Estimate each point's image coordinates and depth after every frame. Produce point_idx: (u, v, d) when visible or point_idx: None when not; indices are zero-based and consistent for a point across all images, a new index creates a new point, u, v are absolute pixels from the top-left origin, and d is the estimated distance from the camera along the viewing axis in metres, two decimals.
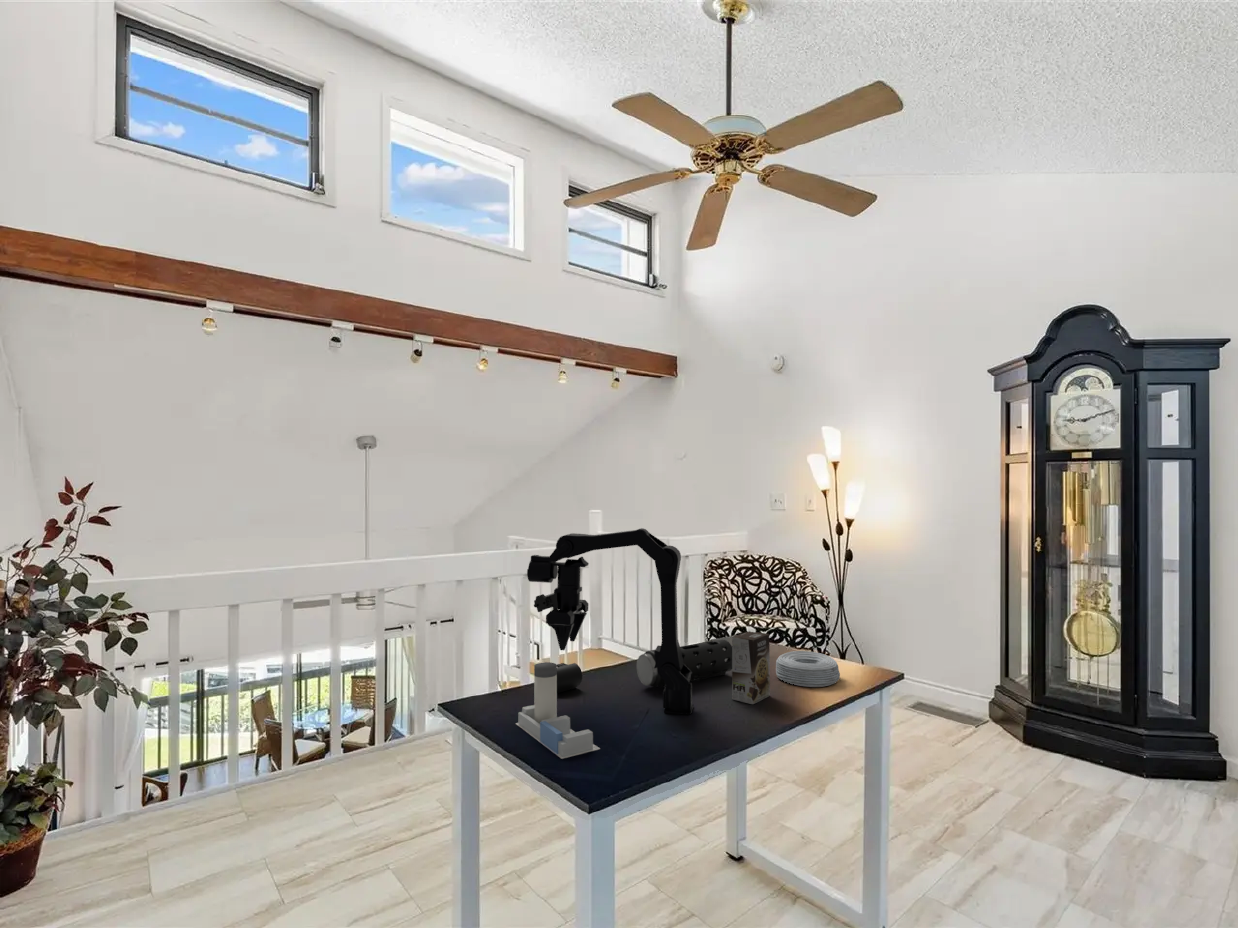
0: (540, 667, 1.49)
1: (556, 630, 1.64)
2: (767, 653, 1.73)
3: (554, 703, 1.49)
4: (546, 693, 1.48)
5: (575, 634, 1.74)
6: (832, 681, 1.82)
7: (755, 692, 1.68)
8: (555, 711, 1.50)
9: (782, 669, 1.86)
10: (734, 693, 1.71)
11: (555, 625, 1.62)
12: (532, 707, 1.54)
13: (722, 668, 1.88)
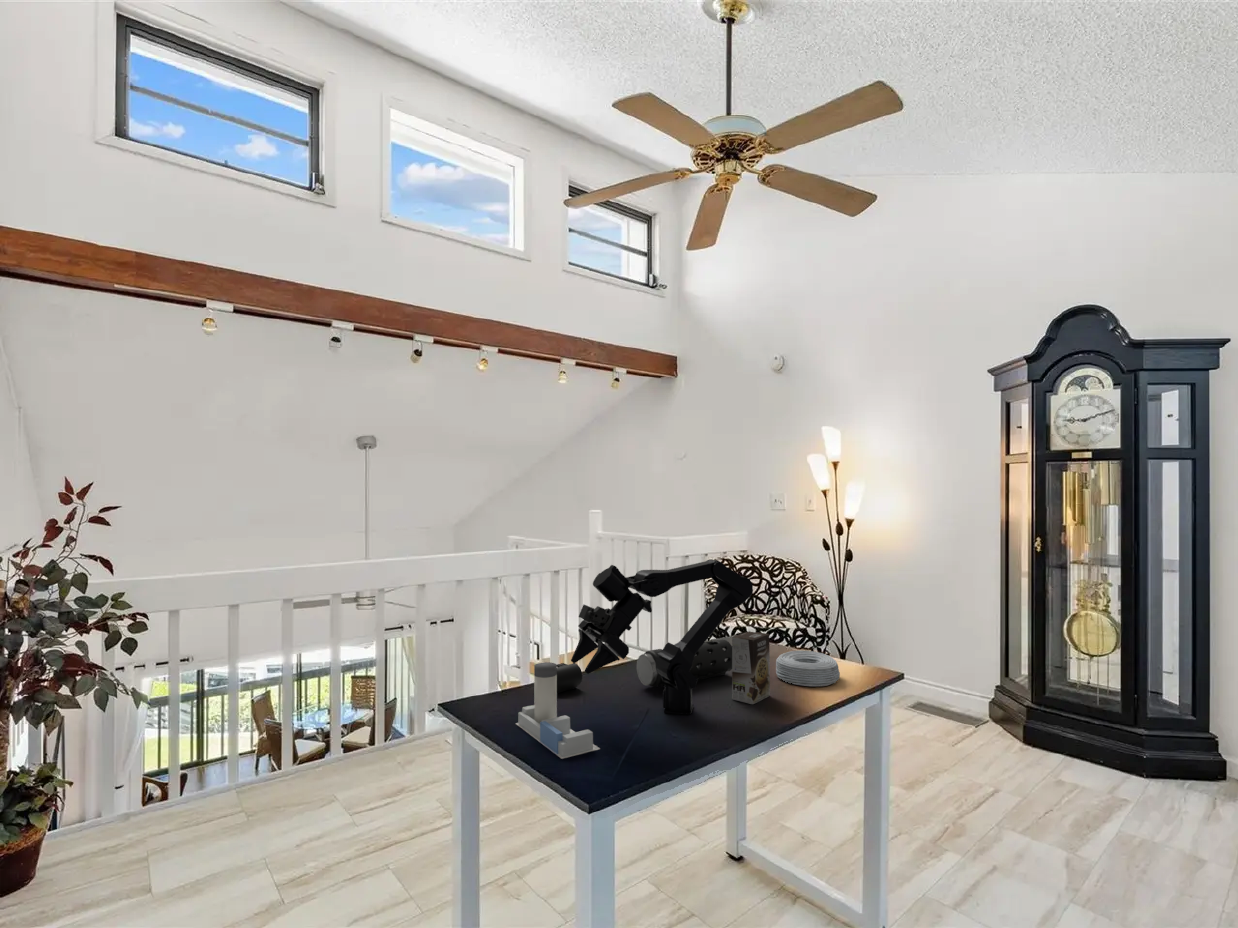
0: (540, 667, 1.49)
1: (600, 652, 1.49)
2: (767, 653, 1.73)
3: (554, 703, 1.49)
4: (546, 693, 1.48)
5: (580, 658, 1.59)
6: (832, 680, 1.82)
7: (755, 692, 1.68)
8: (555, 711, 1.50)
9: (782, 669, 1.86)
10: (734, 693, 1.71)
11: (608, 649, 1.48)
12: (532, 707, 1.54)
13: (722, 668, 1.88)
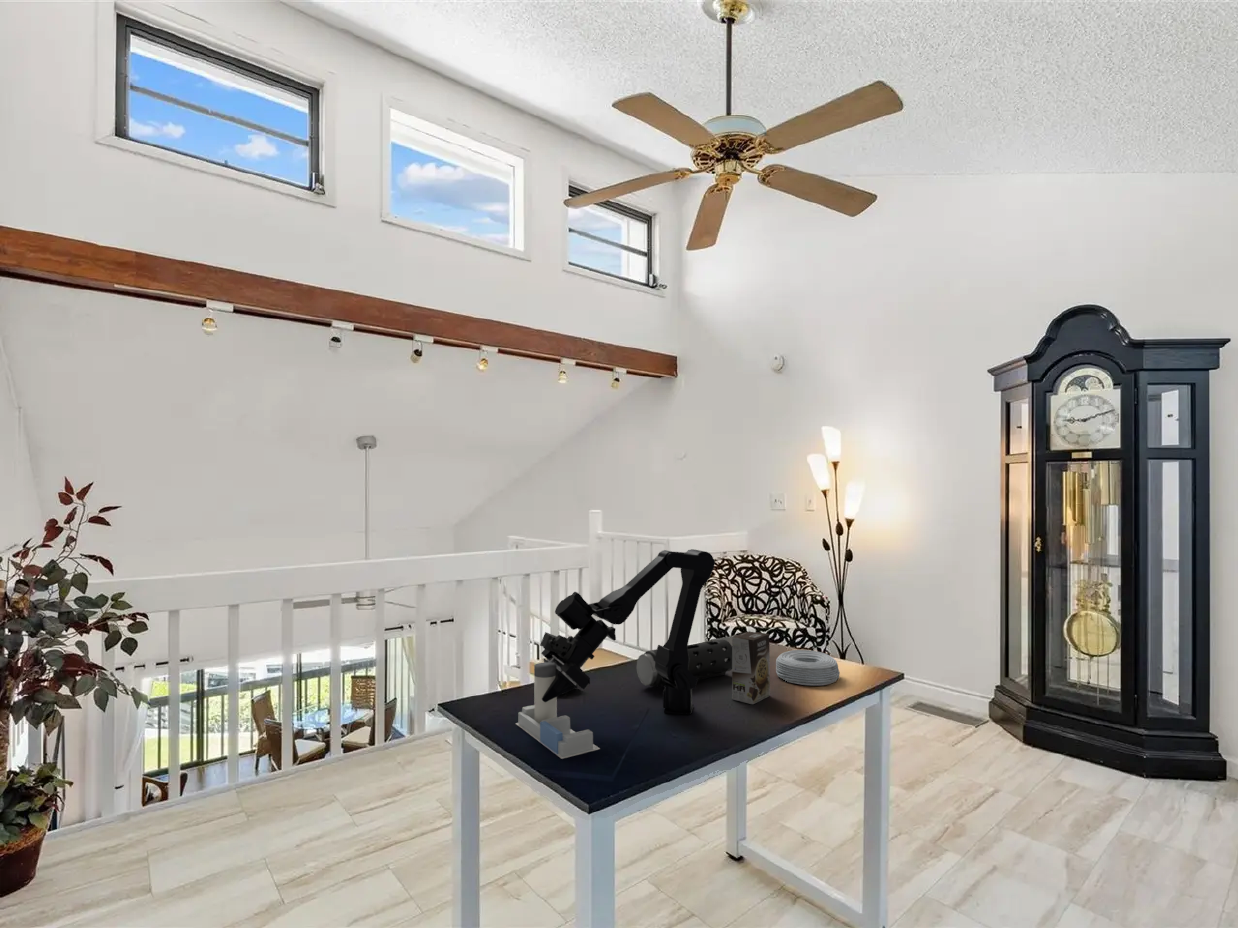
0: (540, 667, 1.49)
1: (557, 681, 1.47)
2: (767, 653, 1.73)
3: (554, 703, 1.49)
4: None
5: None
6: (832, 680, 1.83)
7: (755, 692, 1.68)
8: (555, 711, 1.50)
9: (782, 668, 1.87)
10: (734, 693, 1.71)
11: (565, 678, 1.46)
12: (532, 707, 1.54)
13: (722, 668, 1.88)
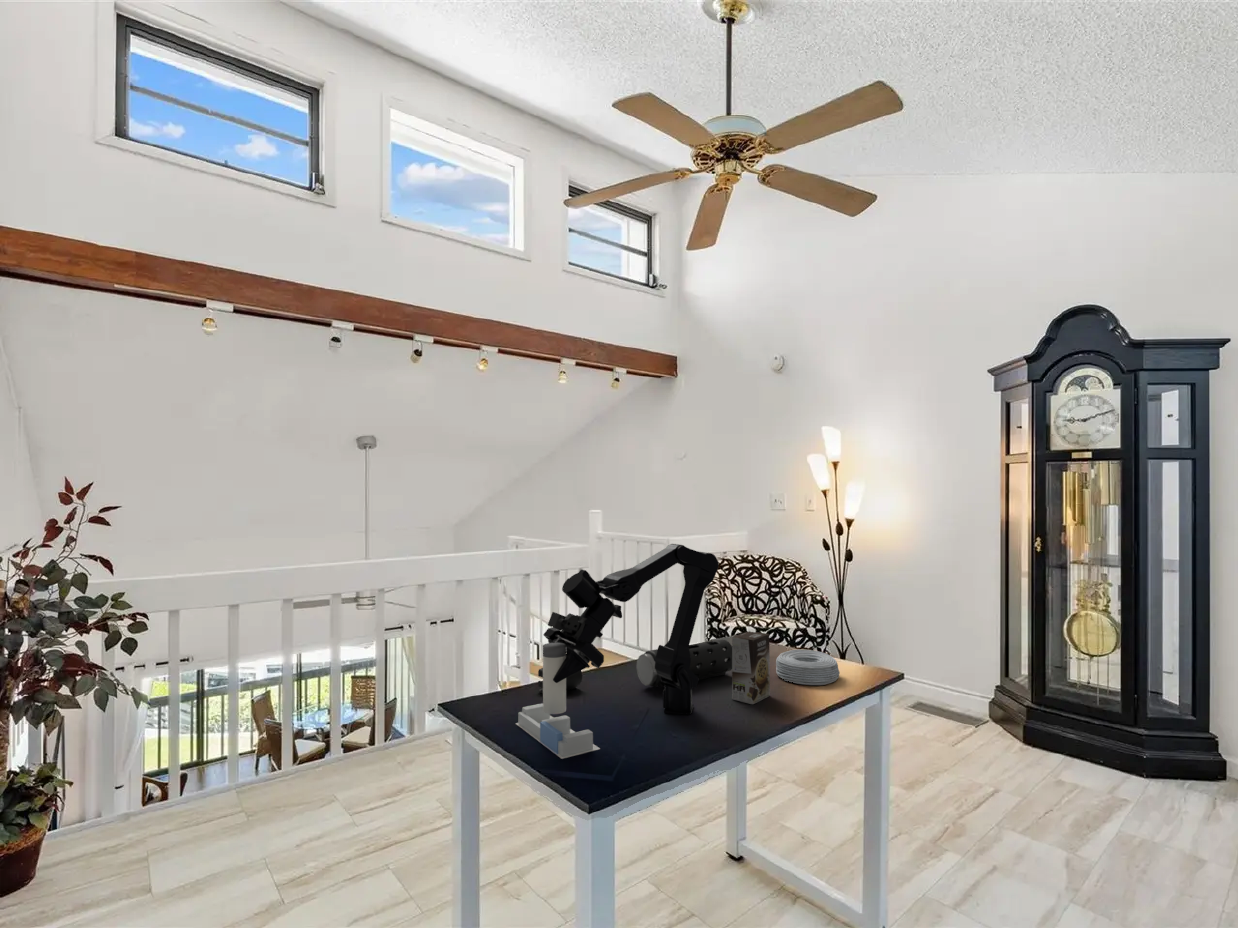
0: (550, 647, 1.45)
1: (570, 660, 1.43)
2: (767, 653, 1.73)
3: (564, 684, 1.45)
4: None
5: None
6: (832, 679, 1.83)
7: (755, 692, 1.68)
8: (565, 692, 1.45)
9: (782, 667, 1.88)
10: (734, 693, 1.71)
11: (578, 656, 1.42)
12: (532, 707, 1.54)
13: (722, 668, 1.88)
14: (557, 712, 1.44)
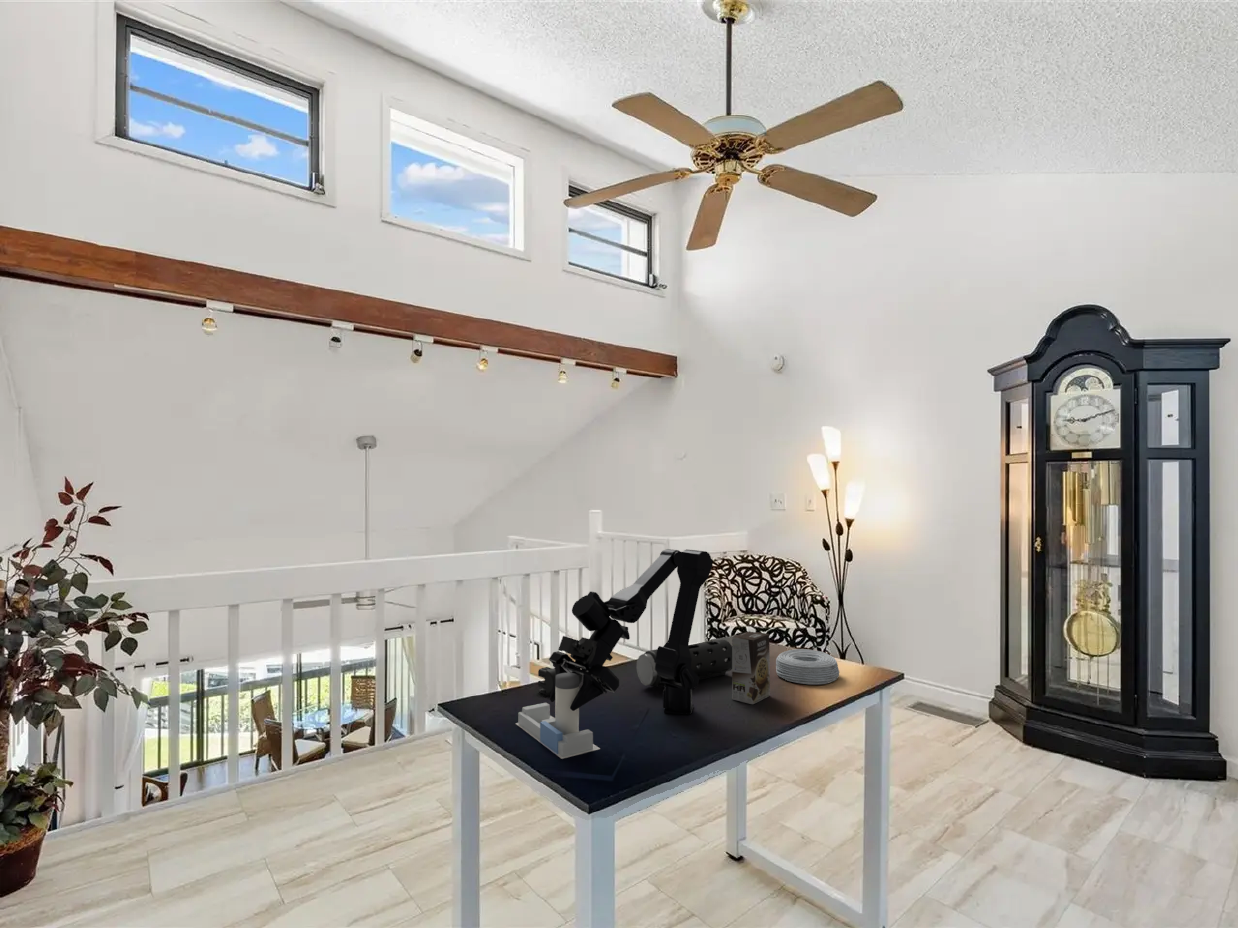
0: (564, 678, 1.41)
1: (587, 687, 1.39)
2: (767, 653, 1.73)
3: (578, 715, 1.41)
4: None
5: None
6: (831, 679, 1.84)
7: (755, 692, 1.68)
8: (578, 724, 1.42)
9: (782, 667, 1.88)
10: (734, 693, 1.71)
11: (597, 683, 1.39)
12: (532, 707, 1.54)
13: (722, 668, 1.88)
14: None
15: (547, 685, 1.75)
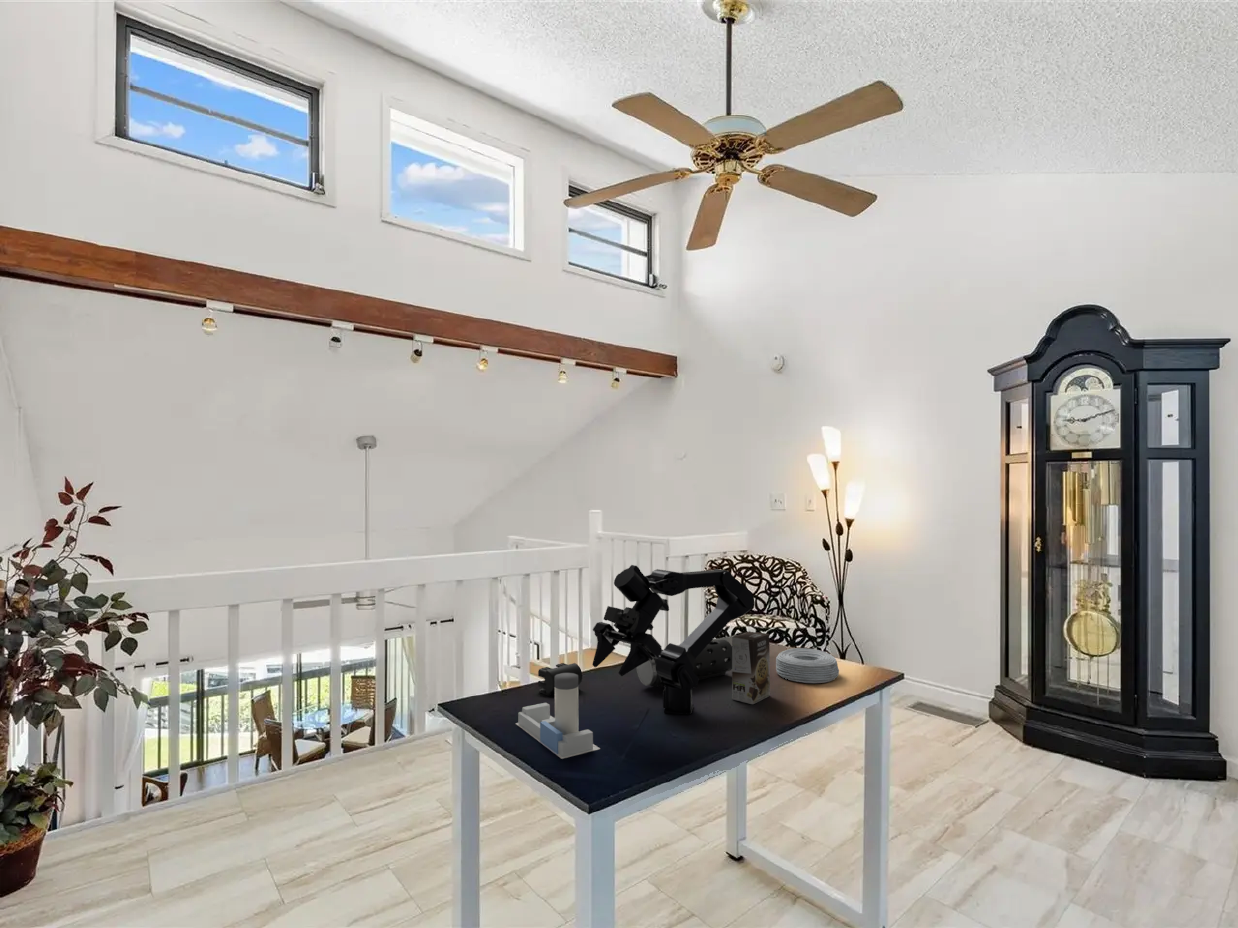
0: (563, 678, 1.40)
1: (634, 654, 1.48)
2: (767, 653, 1.73)
3: (577, 715, 1.41)
4: (571, 706, 1.40)
5: (600, 661, 1.55)
6: (831, 677, 1.85)
7: (755, 692, 1.68)
8: (578, 724, 1.42)
9: (782, 666, 1.89)
10: (734, 693, 1.71)
11: (644, 650, 1.47)
12: (532, 707, 1.54)
13: (722, 668, 1.88)
14: None
15: (547, 685, 1.75)
